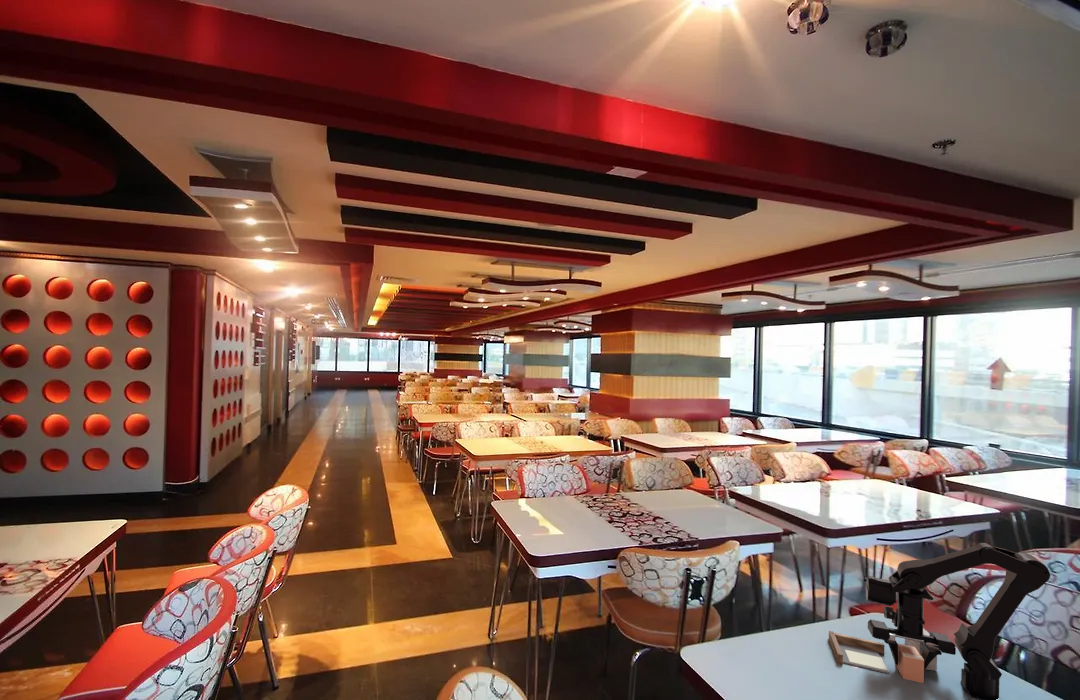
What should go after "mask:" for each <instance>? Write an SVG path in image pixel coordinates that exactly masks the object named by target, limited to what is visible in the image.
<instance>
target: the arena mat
mask: <svg viewBox="0 0 1080 700" xmlns="http://www.w3.org/2000/svg"><path fill="white" fill-rule="evenodd" d="M838 644H839V647H840V649H841V652H842V654H843V664H845V665H849V666H854V667H858V668H862V669H866V670H871V671H876V672H879V673H883V674H889V671H888V670H889V669H888V668H887V667H886V665H885V662H884V661H883V659H882V657H881V656H880V653H878V652H877V651H875V650H870V649H866V648H861V647H857V646H852V645H848V644H843V643H839V642H838Z"/></svg>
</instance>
